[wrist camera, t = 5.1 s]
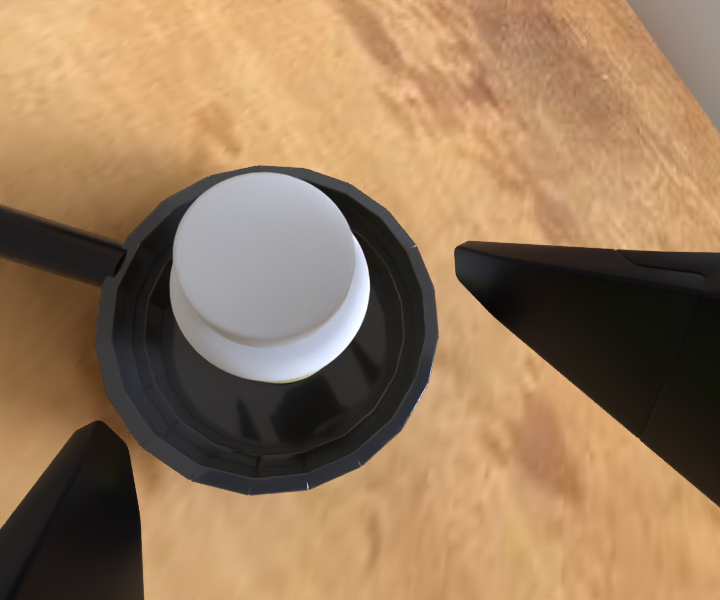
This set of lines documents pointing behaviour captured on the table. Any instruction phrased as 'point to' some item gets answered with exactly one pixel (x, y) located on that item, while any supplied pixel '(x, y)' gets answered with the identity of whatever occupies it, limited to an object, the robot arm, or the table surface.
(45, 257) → the skillet handle
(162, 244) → the skillet
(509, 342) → the table surface
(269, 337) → the supplement bottle
